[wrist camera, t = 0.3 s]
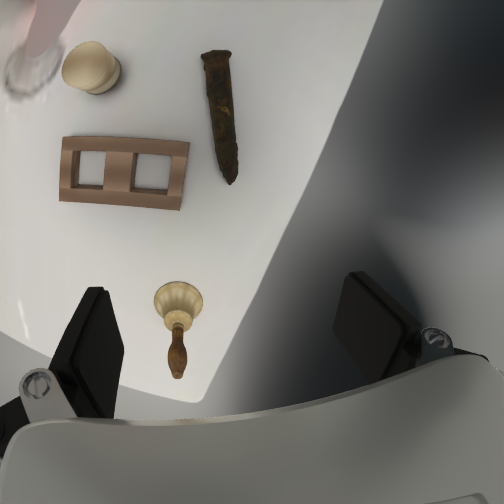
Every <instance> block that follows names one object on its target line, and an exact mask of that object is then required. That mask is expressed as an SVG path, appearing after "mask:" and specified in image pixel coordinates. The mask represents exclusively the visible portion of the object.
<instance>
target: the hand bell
mask: <svg viewBox="0 0 504 504" xmlns="http://www.w3.org/2000/svg"><path fill="white" fill-rule="evenodd" d="M154 306H155V309H156V311H157V312H158V314H159V315H160V316H161V317H162V318H164V324H165V326H166V327H167V329H169V330H170V331H172V344H171V346H170V348H169V351H168V365H169V367H170V370H171V372H172V376H173V378H175V379H181V378H182V377H183V373H184V370H185V368H186V365H187V352H186V348H185V346H184V344H183V333H184V332H185V331H187V330H189V329H190V327H191V326H192V322H193V319H194V318H196V317H197V316H198V314H199V313H200V312H201V310H202V306H203V300H202V296H201V294H200V293H199V291H198V290H197V289H196V288H195V287H193V286H192V285H190V284H187V283H184V282H171V283H168V284H166V285H164V286H162V287H161V288H160V289H159V290H158V291H157V292H156V294H155V297H154Z"/></svg>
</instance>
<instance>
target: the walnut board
mask: <svg viewBox="0 0 504 504" xmlns="http://www.w3.org/2000/svg"><path fill="white" fill-rule="evenodd" d="M189 144H190V143H188V142H178V141H169V140H157V139H144V138H128V137H100V136H70V137H63V139H62V149H61V161H60V181H59V201H65V202H81V203H96V204H110V205H123V206H135V207H146V208H157V209H168V210H178V211H180V206H181V198H182V190H183V183H184V176H185V169H186V162H187V156H188V150H189ZM81 151H106V160H105V170H104V184H103V186H100V185H81V184H78V179H79V164H80V152H81ZM138 153H144V154H157V155H168V156H172V162H171V169H170V177H169V185H168V191H164V190H153V189H142V188H134V180H135V171H136V162H137V154H138Z"/></svg>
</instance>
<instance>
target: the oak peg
mask: <svg viewBox="0 0 504 504" xmlns="http://www.w3.org/2000/svg"><path fill="white" fill-rule="evenodd" d="M120 75H121V64H120V62H119V61H118V59H117V58H115V57H114V56H113V55H112V54H111V53H110V52H109V51H108V50H107V49H106V48H105V47H104V46H103V45H102V44H101V43H99V42H96V41H88V42H84V43H82V44H80V45H78V46H77V47H75V48H74V49H73V50H72V51H71V52H70V53H69V54H68V55H67V57H66V59H65V60H64V63H63V66H62V77H63V80H64V82H65V83H66V84H68V85H69V86H72V87H75V88H77V89H80V90H83V91H85V92H87V93H89V94H93V95H99V94H103V93H105V92H107V91H109V90H110V89H112V88H113V87H114V86H115V85H116V84H117V82H118V80H119V78H120Z"/></svg>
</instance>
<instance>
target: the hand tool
mask: <svg viewBox="0 0 504 504" xmlns="http://www.w3.org/2000/svg"><path fill="white" fill-rule="evenodd" d="M231 54H232V53H231V52H230V51H228V50H212V51H210V52H206V53H204V54H201V58H202V60H203V61H204V62H205V64H204V70H205V71H206V84H207V87H206V90H207V92H206V93H207V96H208V98H209V104H210V112H211V119H212V127H213V134H214V141H215V150H216V154H217V160H218V163H219V166H220V171H222V173H223V177H224V178H225V179H226V181H227V183H228V184H229V185H231V184H232V183H233V182H234V181H235V180H236V177H237V175H238V160H237V156H238V153H237V151H238V147H237V143H236V134H235V126H234V109H233V98H232V87H231V76H230V68H229V58H230V56H231Z"/></svg>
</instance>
